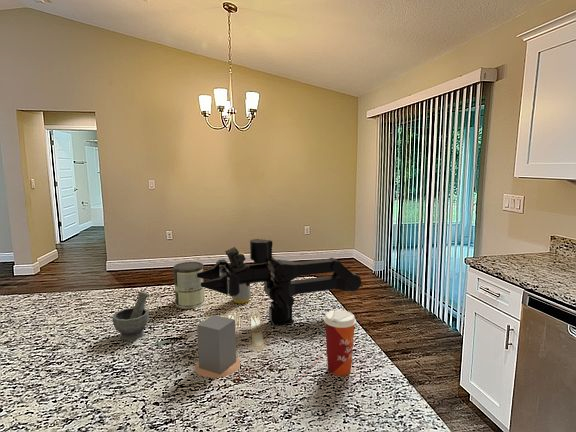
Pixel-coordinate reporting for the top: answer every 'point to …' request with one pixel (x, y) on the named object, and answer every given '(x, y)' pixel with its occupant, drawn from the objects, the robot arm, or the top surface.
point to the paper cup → (339, 341)
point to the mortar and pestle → (132, 319)
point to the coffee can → (188, 285)
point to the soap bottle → (243, 293)
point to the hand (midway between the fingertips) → (198, 279)
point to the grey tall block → (216, 344)
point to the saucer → (215, 375)
